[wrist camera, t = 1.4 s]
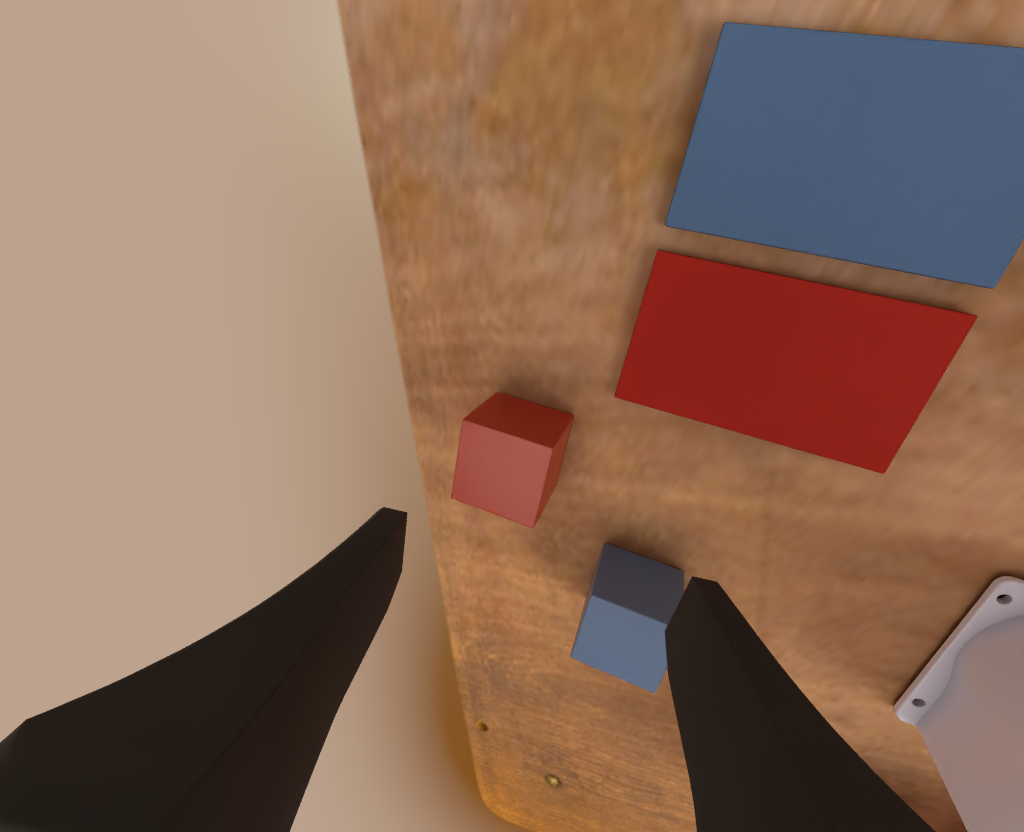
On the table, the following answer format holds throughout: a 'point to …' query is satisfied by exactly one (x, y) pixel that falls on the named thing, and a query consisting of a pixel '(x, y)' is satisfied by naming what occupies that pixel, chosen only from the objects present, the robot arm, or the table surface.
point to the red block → (510, 457)
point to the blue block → (628, 617)
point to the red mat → (787, 358)
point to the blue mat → (861, 150)
